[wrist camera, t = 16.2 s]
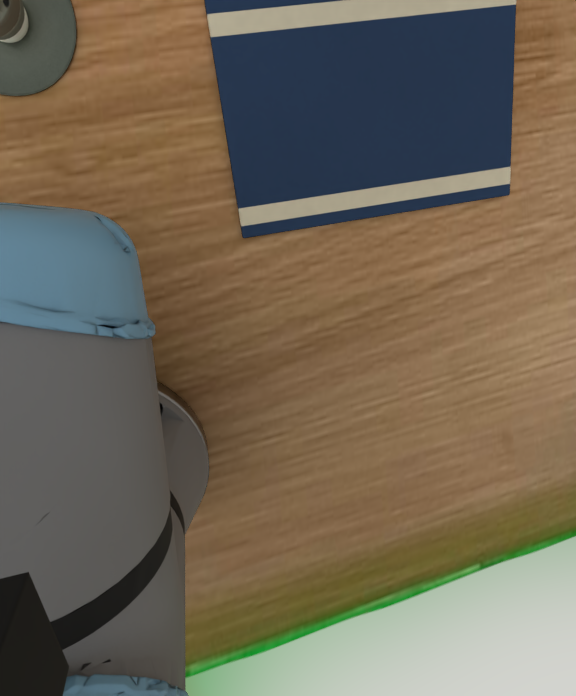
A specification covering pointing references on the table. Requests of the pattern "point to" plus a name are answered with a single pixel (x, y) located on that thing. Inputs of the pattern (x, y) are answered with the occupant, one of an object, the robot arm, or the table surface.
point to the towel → (362, 106)
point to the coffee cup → (34, 44)
